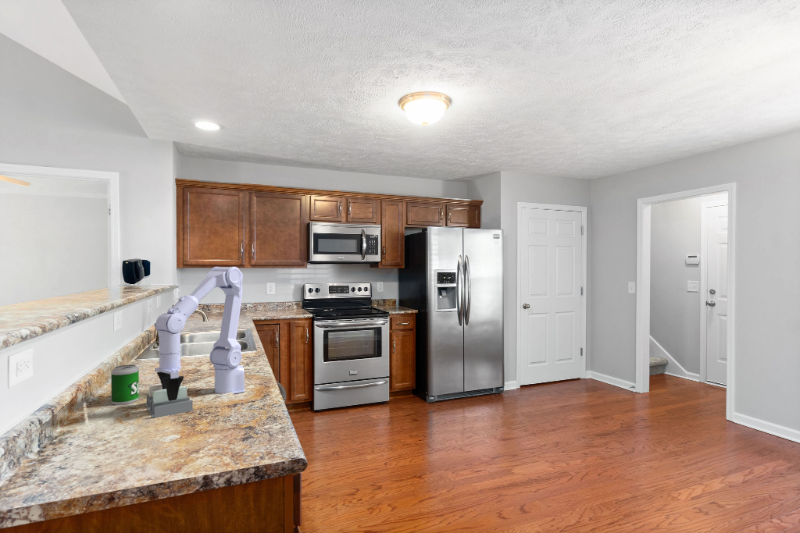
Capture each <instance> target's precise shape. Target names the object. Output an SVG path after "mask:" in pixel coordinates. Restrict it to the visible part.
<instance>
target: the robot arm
mask: <svg viewBox="0 0 800 533" xmlns="http://www.w3.org/2000/svg"><path fill="white" fill-rule="evenodd" d="M243 279H244V274H243V273H242V271H241V270H240V269H239V268H238V267H237V266H229V267H228V266H227V267H225V266H223V267H222V266H214V267H212V268H211V269H210V271H208V272H207V273H206V276H205V278H204V279H203V280H202V281H201V282H200V283H199V285H198V286H196V288H195V289H194V290H193V291H192V292H191V294H189V295H183V296H180V297H179V298H178V301H177V302H176V303H175V304H174V305H173V306H172V307H169V308H168V309H167V311H166V312H165V313H161V314H160V315H158V317H157V319H156V321H155V322H154V328H155V330H156V331H157V335H158V358H159V360H158V362H159V366H158V367H156V368H154V371H155V372H156V374H157V376H158V378H159V380H160V384H162V389H166V391H167V397H168V400H169V401H172V400H177V396H178V392H179V388H180V385H181V382H182V383H183V381H184V380H185V379H184V378H185V376H184V375H179V372H180V370H181V369H182V365H181V331H183V329H184V328H185V326H186V322H187V320H188V319H189V318H190V317H191V316H192V315H193V314H194V312H195V311H196V310H198V309H199V302H201V300H203V299H204V298H205V297H206V296H207V295H208V294H209V293H210V292H212V291H213V290H214V289H215V288H219V289H220V290H221V291H222V292H223V293H224V294H225V299H224V300H225V301H224V306H223V313H222V320H221V326H220V331H219V332H220V333H219V339H217V340H216V341H215V342H214V343H213V347H212V350H211V351H210V353H209V361H210V363H211V364H212V366H213V368H214V393H216V394H231V393H232V394H233V395H235V394H239V393H240V394H241V393H245V392H246V390H245V369H244V366H243V365H242V364H241V365H240V363H241V361H242V358H243V357H242V350H241V348H242V345H241V344H240V343H239V341H238V340H237V335H238V330H239V321H240V313H241V308H242V306H241V305H242V300H243V294H244V292H243V291H244V290H243Z"/></svg>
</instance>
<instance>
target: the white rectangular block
mask: <svg viewBox="0 0 800 533" xmlns="http://www.w3.org/2000/svg"><path fill="white" fill-rule="evenodd" d="M181 386H183V381H182V382H181V385H180V387H181ZM157 390H163V389H162V384H161V383H155V384H149V385H148V394H149V397H153V391H157Z"/></svg>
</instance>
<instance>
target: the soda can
mask: <svg viewBox="0 0 800 533" xmlns="http://www.w3.org/2000/svg"><path fill="white" fill-rule="evenodd" d="M139 373H140V369H139V367H138V366H137V365H136V364H123V365H118V366H115V367H114V368H113V369H112V370H111V371H110V374H111V376H110V378H111V381H110V382H111V384H110V387H111V390H110V391H111V392H110V393H111V395H110V396H111V398H110V400H111V401H110V402H111V404H112V405H115V406H116V405H117V406H122V405H130V404H133V403H136V402H137V401H138V400H139V399H140V374H139Z"/></svg>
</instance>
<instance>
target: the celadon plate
mask: <svg viewBox="0 0 800 533" xmlns="http://www.w3.org/2000/svg"><path fill="white" fill-rule="evenodd" d="M186 397H188V387H187V385H182V386H181V387H180V388H179V392H178V396H177V399H181V398H186ZM164 401H169V400H168V397H167V391H166V389H163V390H157V391H153V403H158V402H164Z"/></svg>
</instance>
